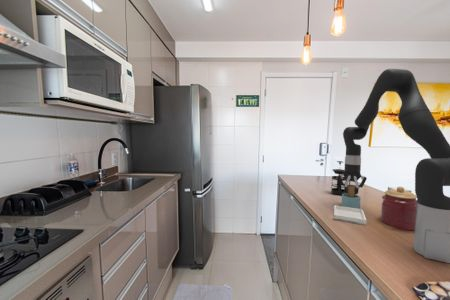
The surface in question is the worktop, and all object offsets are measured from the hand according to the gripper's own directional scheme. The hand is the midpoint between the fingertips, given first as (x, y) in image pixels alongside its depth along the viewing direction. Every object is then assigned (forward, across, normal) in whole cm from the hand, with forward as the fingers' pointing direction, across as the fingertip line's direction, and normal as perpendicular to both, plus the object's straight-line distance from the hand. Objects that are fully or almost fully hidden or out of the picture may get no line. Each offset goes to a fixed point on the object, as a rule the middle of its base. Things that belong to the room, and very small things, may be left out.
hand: (351, 193), depth 113 cm
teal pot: (+8, 0, 0) cm, 8 cm away
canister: (+9, +18, -14) cm, 24 cm away
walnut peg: (+7, 0, 0) cm, 7 cm away
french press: (+8, -5, +26) cm, 28 cm away
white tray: (+8, -2, -15) cm, 17 cm away
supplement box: (+9, +22, +6) cm, 24 cm away
